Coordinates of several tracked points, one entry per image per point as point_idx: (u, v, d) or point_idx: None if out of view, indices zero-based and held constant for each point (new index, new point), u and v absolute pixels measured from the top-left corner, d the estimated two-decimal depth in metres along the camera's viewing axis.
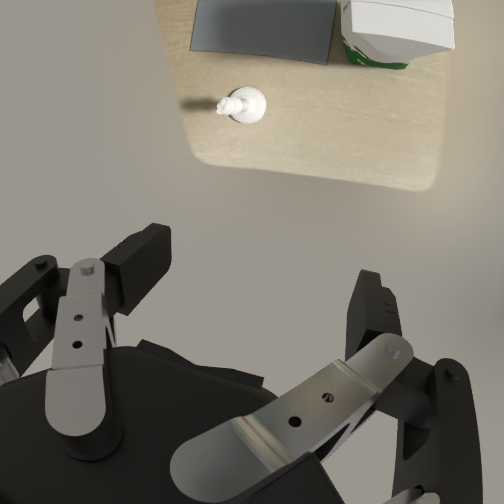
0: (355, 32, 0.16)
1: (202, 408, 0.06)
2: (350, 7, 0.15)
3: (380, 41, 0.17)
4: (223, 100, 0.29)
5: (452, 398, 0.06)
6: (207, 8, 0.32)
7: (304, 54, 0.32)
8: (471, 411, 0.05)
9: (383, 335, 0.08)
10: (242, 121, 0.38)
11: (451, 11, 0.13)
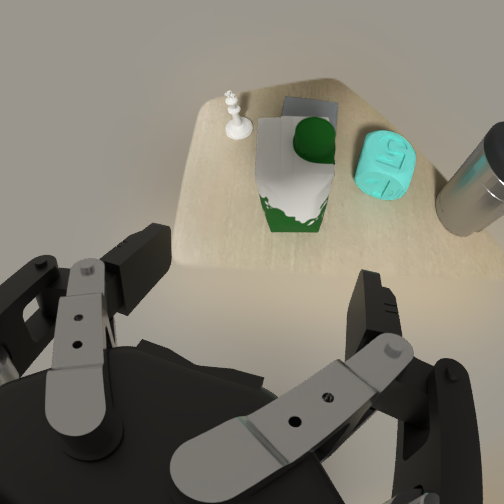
0: (258, 119, 0.32)
1: (202, 408, 0.06)
2: None
3: None
4: (233, 95, 0.44)
5: (452, 398, 0.06)
6: (318, 105, 0.53)
7: None
8: (471, 411, 0.05)
9: (383, 335, 0.08)
10: (226, 125, 0.53)
11: (286, 173, 0.30)
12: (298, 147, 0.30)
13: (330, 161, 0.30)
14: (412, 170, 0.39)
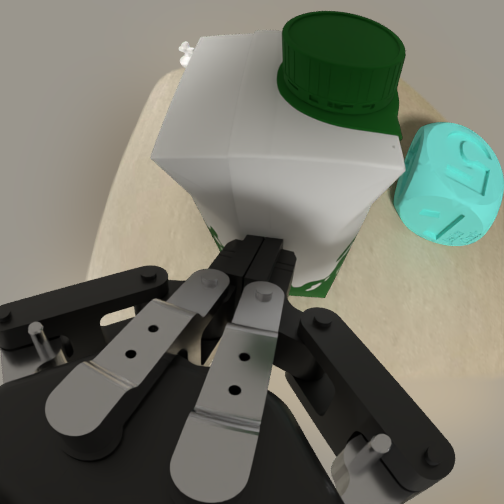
0: (200, 40, 0.12)
1: None
2: None
3: None
4: (192, 48, 0.24)
5: (336, 344, 0.08)
6: None
7: None
8: (361, 347, 0.07)
9: (257, 282, 0.10)
10: None
11: (246, 152, 0.09)
12: (291, 78, 0.09)
13: (388, 128, 0.09)
14: (500, 200, 0.18)
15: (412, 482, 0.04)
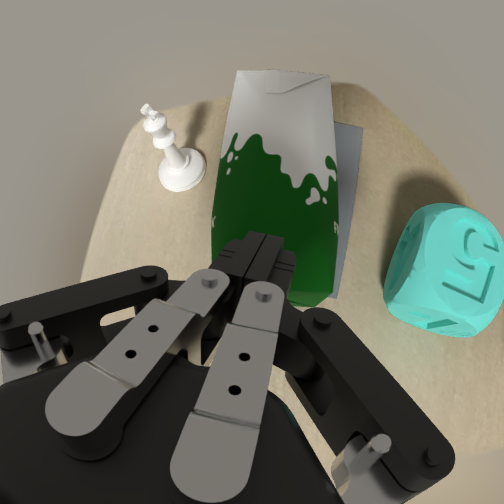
0: None
1: None
2: None
3: None
4: (154, 112, 0.22)
5: (336, 344, 0.08)
6: None
7: None
8: (361, 347, 0.07)
9: (257, 282, 0.10)
10: (161, 163, 0.30)
11: (273, 70, 0.23)
12: None
13: None
14: (501, 301, 0.16)
15: (412, 482, 0.04)
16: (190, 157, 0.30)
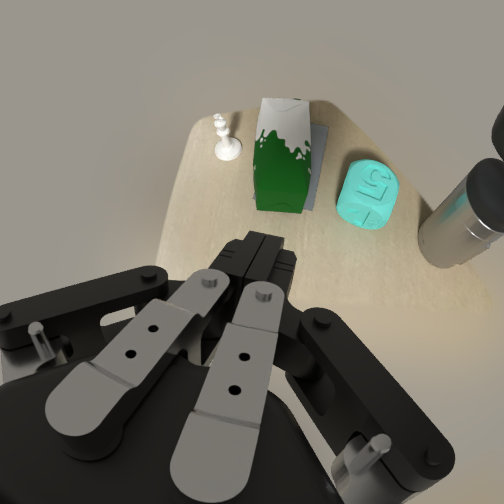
0: None
1: None
2: None
3: None
4: (222, 118, 0.46)
5: (336, 344, 0.08)
6: None
7: None
8: (361, 346, 0.07)
9: (257, 282, 0.10)
10: (216, 145, 0.55)
11: (281, 98, 0.48)
12: None
13: None
14: (393, 202, 0.41)
15: (412, 482, 0.04)
16: (233, 142, 0.54)
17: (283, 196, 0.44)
